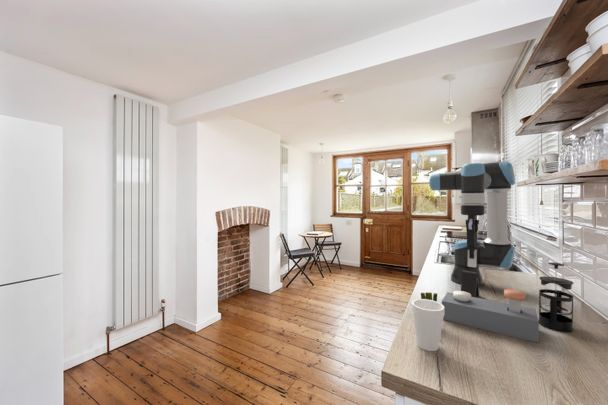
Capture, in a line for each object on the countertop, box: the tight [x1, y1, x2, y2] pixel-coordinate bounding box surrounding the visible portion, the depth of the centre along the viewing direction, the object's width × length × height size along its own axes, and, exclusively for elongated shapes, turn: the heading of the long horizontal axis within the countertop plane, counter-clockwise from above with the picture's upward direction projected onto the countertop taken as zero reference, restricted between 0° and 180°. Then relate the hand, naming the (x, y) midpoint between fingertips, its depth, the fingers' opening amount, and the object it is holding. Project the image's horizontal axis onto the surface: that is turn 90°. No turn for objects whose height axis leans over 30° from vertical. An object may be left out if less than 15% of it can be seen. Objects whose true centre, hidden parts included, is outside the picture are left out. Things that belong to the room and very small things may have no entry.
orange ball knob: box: [503, 288, 527, 313], centre depth 93 cm, size 6×6×8 cm
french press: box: [538, 261, 575, 334], centre depth 96 cm, size 12×9×23 cm
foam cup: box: [411, 298, 445, 352], centre depth 84 cm, size 10×9×13 cm
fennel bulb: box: [420, 292, 438, 302], centre depth 97 cm, size 6×5×12 cm
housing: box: [441, 291, 540, 344], centre depth 98 cm, size 12×28×7 cm, turn 52°
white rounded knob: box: [452, 290, 471, 302], centre depth 103 cm, size 6×6×8 cm
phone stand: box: [460, 270, 481, 298], centre depth 125 cm, size 9×6×12 cm, turn 134°
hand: (472, 266), depth 101 cm, fingers closed
